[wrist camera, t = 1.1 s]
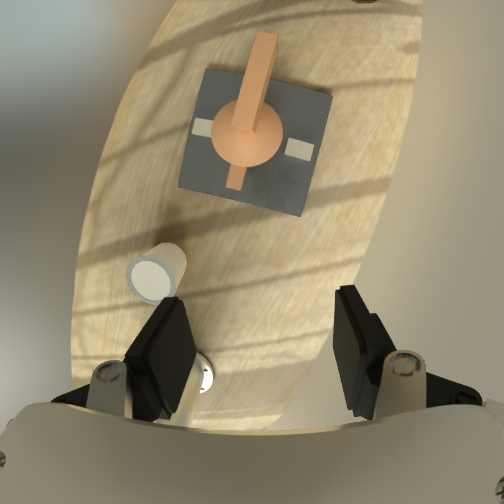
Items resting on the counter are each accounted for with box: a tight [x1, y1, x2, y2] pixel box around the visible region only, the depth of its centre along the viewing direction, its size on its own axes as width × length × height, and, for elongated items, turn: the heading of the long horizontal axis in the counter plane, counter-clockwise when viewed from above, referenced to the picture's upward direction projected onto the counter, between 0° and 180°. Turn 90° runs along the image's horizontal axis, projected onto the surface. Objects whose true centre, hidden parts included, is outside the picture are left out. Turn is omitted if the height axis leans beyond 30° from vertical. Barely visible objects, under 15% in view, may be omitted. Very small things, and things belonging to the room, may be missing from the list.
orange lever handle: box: [211, 31, 283, 191], centre depth 21 cm, size 14×6×6 cm, turn 166°
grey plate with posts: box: [178, 68, 333, 217], centre depth 28 cm, size 16×16×8 cm
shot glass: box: [127, 242, 187, 305], centre depth 35 cm, size 7×7×7 cm
